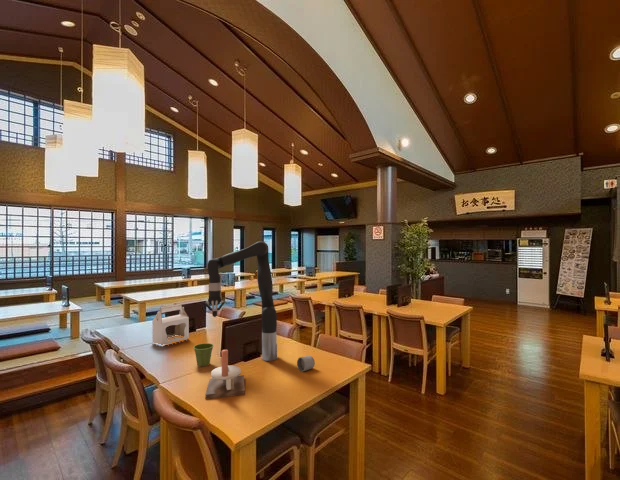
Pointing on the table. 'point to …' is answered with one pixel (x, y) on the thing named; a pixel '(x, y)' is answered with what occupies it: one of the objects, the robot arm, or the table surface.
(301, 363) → the ceramic mug
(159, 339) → the gable box
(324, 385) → the table surface
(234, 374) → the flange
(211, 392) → the post base
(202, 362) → the plant pot
